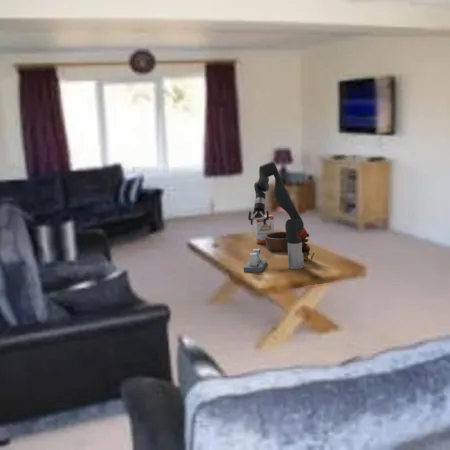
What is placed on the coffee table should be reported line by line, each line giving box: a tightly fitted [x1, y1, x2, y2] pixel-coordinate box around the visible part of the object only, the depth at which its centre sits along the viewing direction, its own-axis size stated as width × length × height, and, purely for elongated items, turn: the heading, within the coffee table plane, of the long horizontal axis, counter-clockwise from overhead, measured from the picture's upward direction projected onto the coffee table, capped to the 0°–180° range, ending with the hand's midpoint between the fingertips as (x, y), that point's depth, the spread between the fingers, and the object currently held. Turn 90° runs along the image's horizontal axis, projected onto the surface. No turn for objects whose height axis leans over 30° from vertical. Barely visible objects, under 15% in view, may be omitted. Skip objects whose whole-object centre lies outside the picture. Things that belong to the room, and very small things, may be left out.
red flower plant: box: [296, 227, 315, 262], centre depth 459 cm, size 15×17×25 cm
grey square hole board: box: [243, 258, 268, 273], centre depth 448 cm, size 22×12×3 cm, turn 168°
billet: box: [252, 248, 262, 262], centre depth 452 cm, size 4×4×11 cm
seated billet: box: [249, 252, 258, 267], centre depth 442 cm, size 4×4×11 cm
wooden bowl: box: [265, 231, 288, 252], centre depth 496 cm, size 25×25×10 cm
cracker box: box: [254, 214, 275, 244], centre depth 518 cm, size 14×6×21 cm, turn 105°
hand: (257, 224), depth 459 cm, fingers open, 8 cm apart
